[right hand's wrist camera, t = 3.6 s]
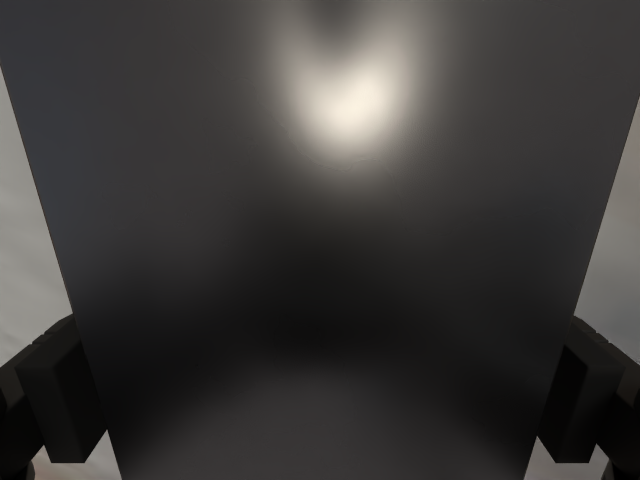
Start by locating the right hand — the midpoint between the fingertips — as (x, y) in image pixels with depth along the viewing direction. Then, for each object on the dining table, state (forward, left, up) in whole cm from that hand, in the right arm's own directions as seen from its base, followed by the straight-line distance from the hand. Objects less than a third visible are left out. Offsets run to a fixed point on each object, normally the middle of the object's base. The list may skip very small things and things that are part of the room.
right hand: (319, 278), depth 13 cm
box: (+8, +2, -3) cm, 9 cm away
